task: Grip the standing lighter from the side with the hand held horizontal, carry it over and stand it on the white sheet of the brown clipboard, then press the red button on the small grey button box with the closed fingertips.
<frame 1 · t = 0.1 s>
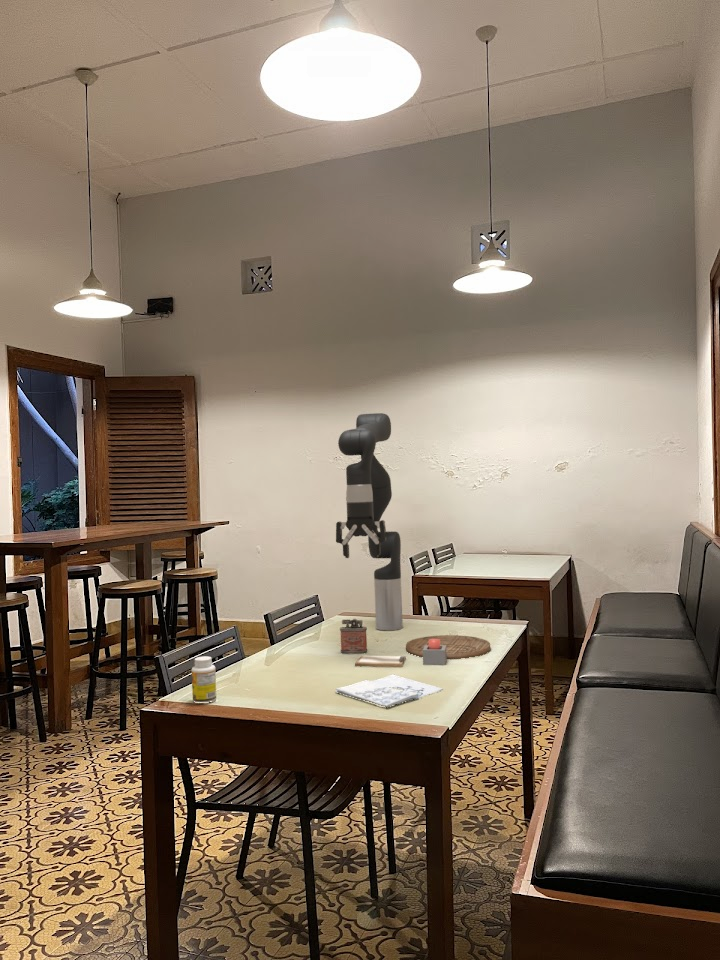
hand: (361, 557, 208), 29 cm above the table, tool pointing down, fingers open, 8 cm apart
folded patterned cloth: (390, 695, 176), on the table
button: (434, 647, 203), point 4 cm above the table, slide at 0.0 cm
button box: (435, 662, 203), on the table
trivet: (447, 651, 218), on the table
supplement bottle: (204, 702, 173), on the table
lighter: (354, 653, 217), on the table
clipboard: (380, 662, 204), on the table
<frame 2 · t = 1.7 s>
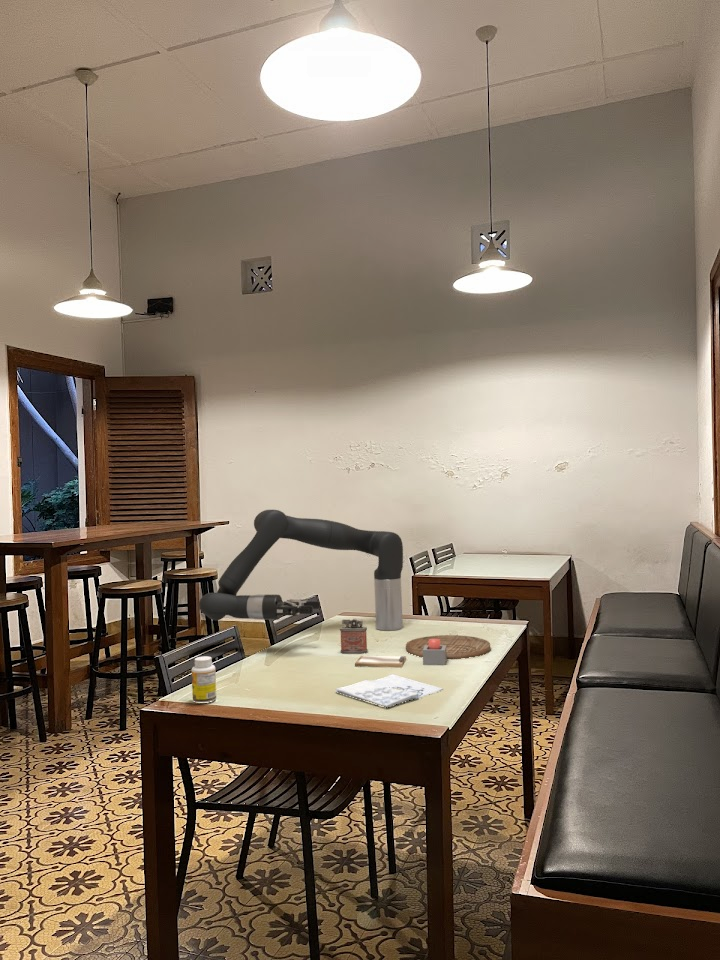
hand: (316, 607, 219), 14 cm above the table, tool horizontal, fingers open, 8 cm apart
nothing on the table moved.
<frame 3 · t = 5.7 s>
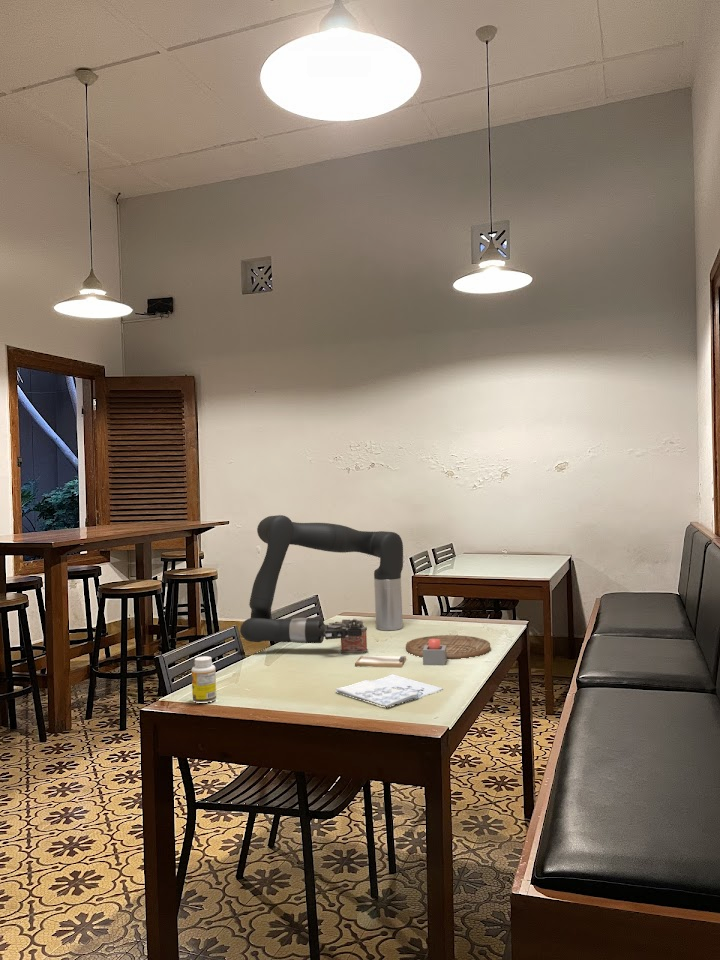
hand: (362, 630, 217), 7 cm above the table, tool horizontal, fingers closed on lighter, 3 cm apart
lighter: (354, 653, 217), on the table, touching gripper
everything else where it was.
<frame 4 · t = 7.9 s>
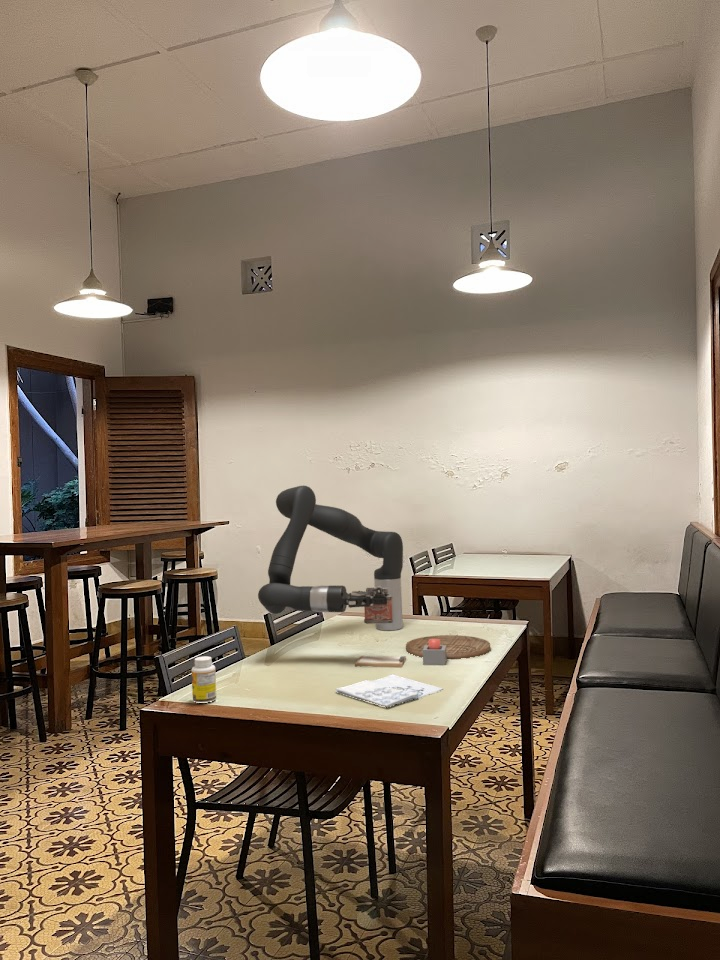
hand: (387, 599, 204), 18 cm above the table, tool horizontal, fingers closed on lighter, 3 cm apart
lighter: (378, 623, 205), point 11 cm above the table, touching gripper
everything else where it was.
when the fingers open (8 cm above the table, at t = 10.1 s): lighter stays where it is, resting on clipboard.
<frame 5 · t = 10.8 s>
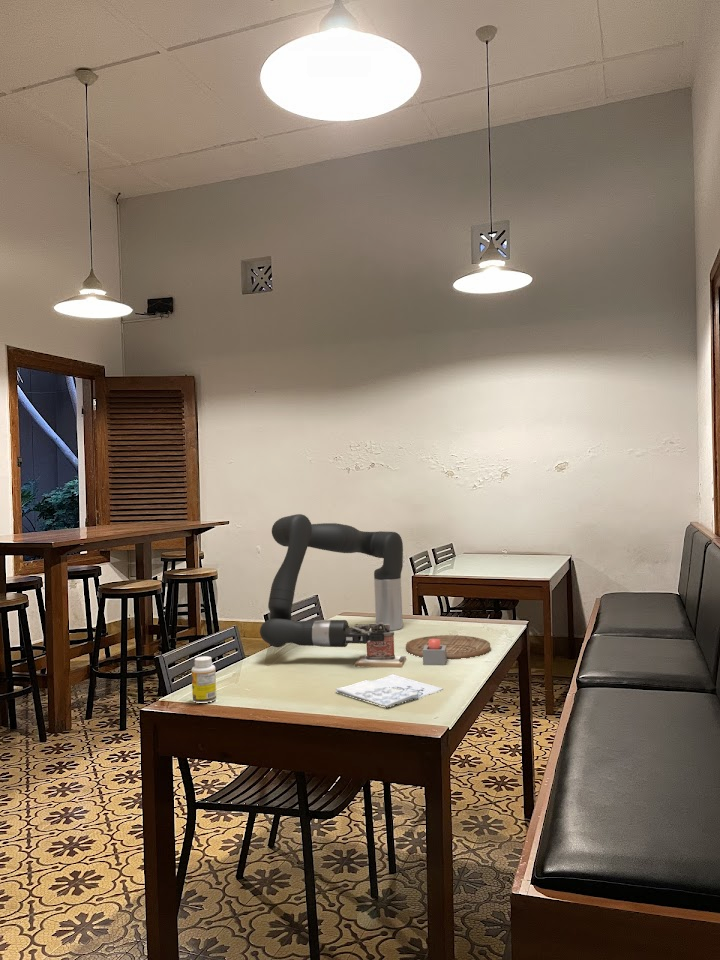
hand: (386, 633, 204), 8 cm above the table, tool horizontal, fingers open, 8 cm apart
lighter: (380, 659, 205), point 1 cm above the table, touching clipboard
everything else where it was.
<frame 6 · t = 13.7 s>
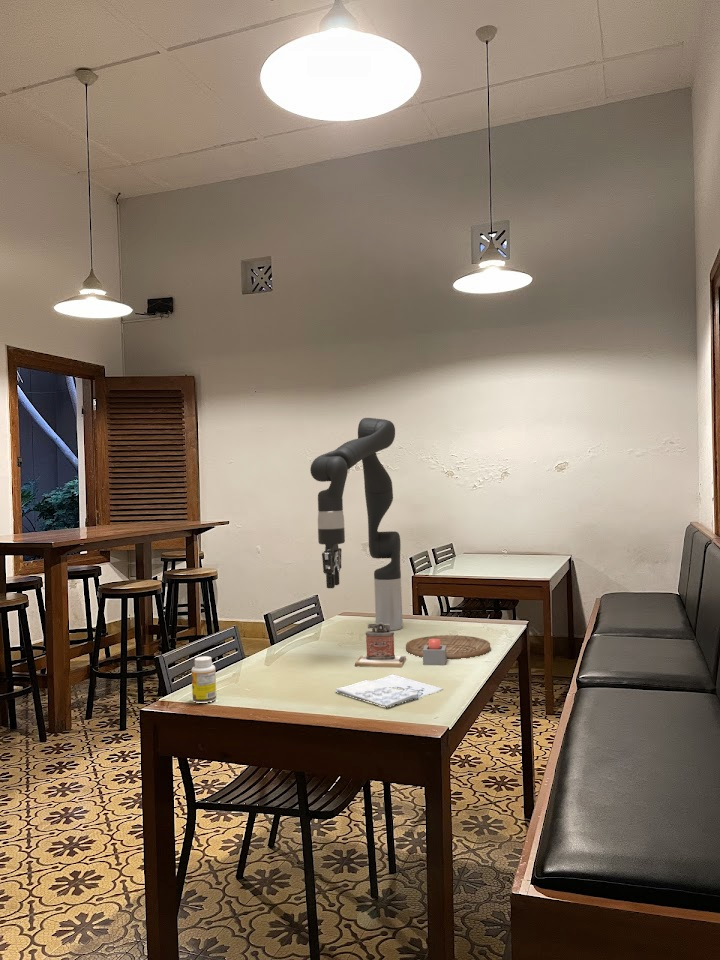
hand: (333, 586, 207), 21 cm above the table, tool pointing down, fingers open, 5 cm apart
nothing on the table moved.
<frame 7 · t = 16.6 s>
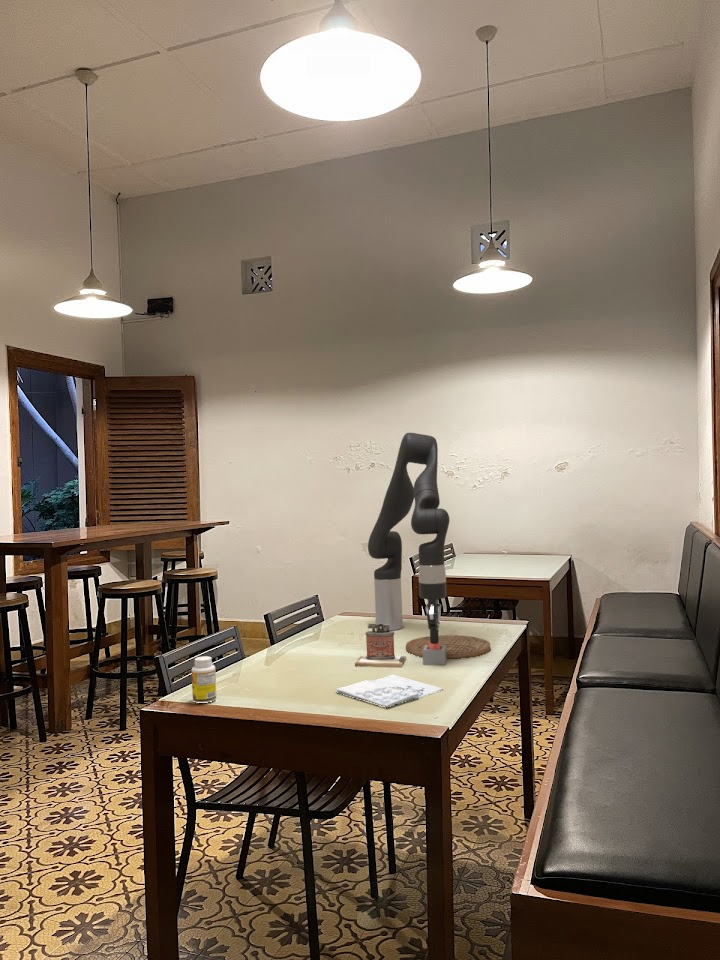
hand: (434, 642, 203), 5 cm above the table, tool pointing down, fingers closed
button: (434, 650, 203), point 3 cm above the table, slide at 0.9 cm, touching gripper
everything else where it was.
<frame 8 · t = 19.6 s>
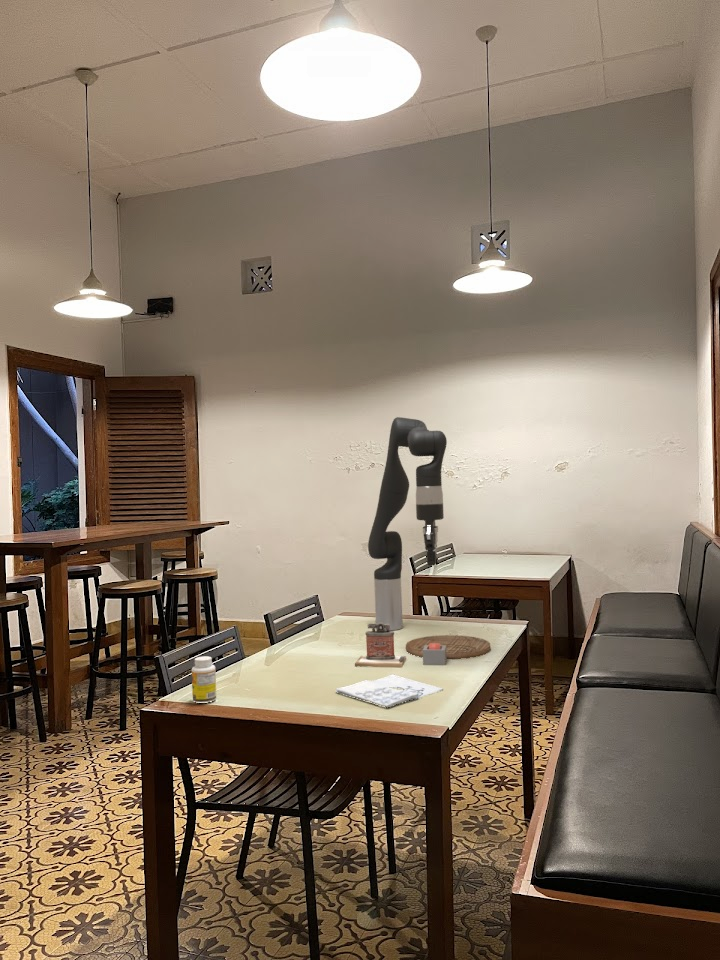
hand: (431, 564, 203), 27 cm above the table, tool pointing down, fingers closed
button: (434, 651, 203), point 3 cm above the table, slide at 1.2 cm
everything else where it was.
at the end: lighter inside the target area (0.5 cm from its centre), point 0.8 cm above the table; lighter tilted 0°; button slide at 1.2 cm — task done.
